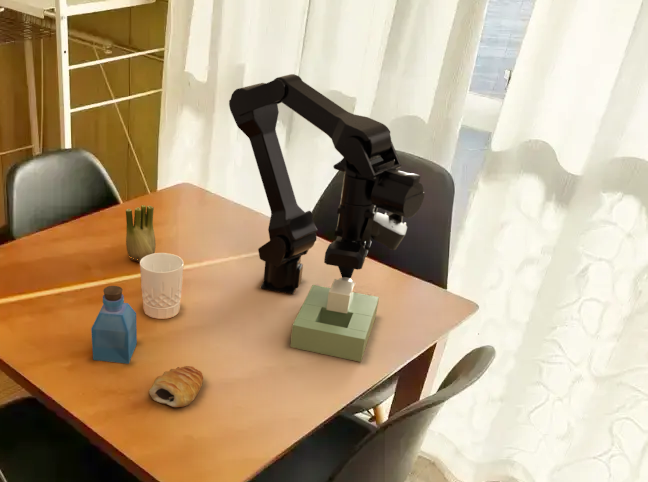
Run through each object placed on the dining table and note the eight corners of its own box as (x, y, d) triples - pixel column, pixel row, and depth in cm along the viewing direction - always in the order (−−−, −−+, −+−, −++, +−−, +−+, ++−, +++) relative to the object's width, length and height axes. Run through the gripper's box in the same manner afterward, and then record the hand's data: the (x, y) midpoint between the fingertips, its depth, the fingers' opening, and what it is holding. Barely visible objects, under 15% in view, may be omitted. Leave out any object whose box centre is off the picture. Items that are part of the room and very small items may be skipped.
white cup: (189, 304, 141) (190, 257, 136) (172, 324, 135) (173, 275, 130) (151, 296, 144) (150, 249, 139) (133, 315, 138) (132, 267, 133)
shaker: (347, 313, 129) (349, 295, 127) (326, 309, 130) (328, 291, 128) (354, 296, 134) (356, 278, 132) (333, 292, 135) (336, 274, 134)
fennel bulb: (125, 263, 156) (124, 210, 150) (130, 253, 160) (128, 200, 154) (153, 265, 155) (152, 211, 149) (156, 255, 159) (156, 202, 153)
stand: (290, 347, 128) (292, 324, 126) (310, 305, 140) (312, 284, 138) (360, 362, 124) (364, 339, 122) (375, 318, 136) (379, 296, 134)
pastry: (178, 370, 123) (179, 351, 121) (213, 384, 119) (215, 364, 117) (145, 399, 116) (145, 379, 114) (182, 414, 113) (183, 394, 111)
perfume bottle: (128, 363, 124) (127, 301, 118) (93, 359, 126) (89, 297, 119) (136, 343, 130) (135, 283, 123) (102, 340, 131) (99, 279, 124)
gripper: (401, 228, 116) (385, 314, 124) (414, 186, 131) (399, 266, 139) (329, 218, 120) (318, 302, 128) (349, 178, 134) (339, 256, 143)
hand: (346, 280), depth 134 cm, fingers closed
